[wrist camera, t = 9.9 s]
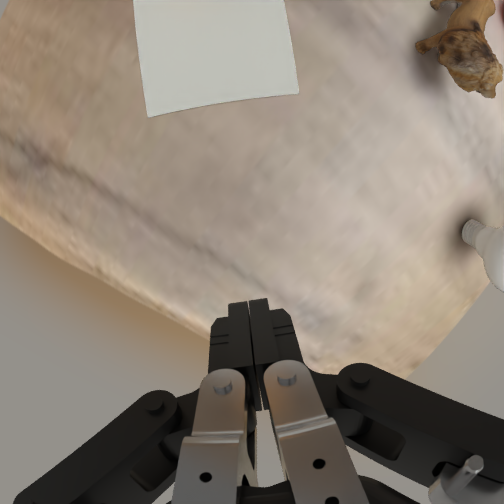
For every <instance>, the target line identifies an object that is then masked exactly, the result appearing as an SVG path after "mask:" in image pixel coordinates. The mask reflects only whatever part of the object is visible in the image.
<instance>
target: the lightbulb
mask: <svg viewBox="0 0 504 504" xmlns="http://www.w3.org/2000/svg"><path fill="white" fill-rule="evenodd" d="M462 239H463V240H464V241H465V242H466V243H467V244H469V245H470V246H472V247H473V248H475V249H476V251H477V253H478V254H479V255H480V257H481V258H482V259H483V263H484V267H485V271H486V274H487V276H488V278H489V280H490V281H491V282H492V284H493V285H494V286H495V287H496V288H497V289H499V290H500V291H503V292H504V226H502V227H499V228H495V227H491V226H488V227H487V226H485V225H483V224H481V223H479V222H478V221H476V220H473V219H471V220H469V221H467V222H466V224H465V225H464V227H463V229H462Z"/></svg>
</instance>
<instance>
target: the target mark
mask: <svg viewBox="0 0 504 504" xmlns="http://www.w3.org/2000/svg"><path fill="white" fill-rule="evenodd" d="M133 4H134V15H135V26H136V35H137V44H138V53H139V61H140V68H141V76H142V83H143V90H144V96H145V103H146V109H147V115H148V118H150V117H154V116H158V115H163V114H167V113H171V112H176V111H181V110H186V109H191V108H196V107H201V106H207V105H212V104H218V103H225V102H231V101H238V100H245V99H253V98H262V97H271V96H281V95H293V94H299V88H298V81H297V74H296V67H295V61H294V55H293V49H292V43H291V37H290V31H289V25H288V20H287V14H286V9H285V4H284V0H133Z"/></svg>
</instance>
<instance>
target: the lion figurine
mask: <svg viewBox="0 0 504 504" xmlns="http://www.w3.org/2000/svg"><path fill="white" fill-rule="evenodd" d="M452 2H454V3H459V4H458V6H457V7H458V8H457V9H456V10H455V11H454V12H453V13H452V15H451V17H450V18H449V21H448V24H447V29H446V30H444V31H442V32H440V33H438V34H436V35H434V36H432V37H430V38H428V39H425V40H422V41H419V42H417V43H416V49H417V51H418V52H420V53H422V54H424V53H425V52H426V51H429V50H430V49H431V48H432V47H437V48H438V50H439V54H438V61H439V62H440V64H442V65H444V66H445V67H446V68H447V69H448V71H449V73H450V75H451V76H452V78H453V79H454V82H455V83H456V84H457V85H458V86H459V87H461V88H462V89H463V90H465V91H467V92H471V91H476V92H479V93H481V94H482V96H484V97H487V98H494V97H495V96H496V92H495V86H496V85H497V83H499V82H500V81H502V78H503V77H502V74H503V67H502V65H501V64H499V62H498V60H497V58H496V55H495V54H493V53H492V50H491V48H490V46H489V45H488V43H487V41H486V39H485V36H484V30H485V25H486V22H487V19H488V18H489V17H490V16H492V15H493V14H494V13H495V4H494V1H493V0H432V1H431V2H430V4H431V6H432V7H433V8H434V9H435V10H440V9H441V7H442V6H443V5H445V4H448V3H452Z"/></svg>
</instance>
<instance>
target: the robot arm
mask: <svg viewBox="0 0 504 504" xmlns="http://www.w3.org/2000/svg"><path fill="white" fill-rule="evenodd" d="M249 310H250V314H249ZM210 337H211V338H210V351H209V365H208V366H209V367H208V375H207V376H206V377H204V379H203V380H202V382H201V385H200V388H199V389H197V390H196V391H194V392H192V393H189V394H186V395H183V396H180V397H177V398H175V396H174V395H173V394H172V393H170V392H168V391H164V390H155V391H151V392H149V393H146V394H145V395H143V396H142V397H141V398H139V399H138V400H137V401H136V402H135V403H133V404H132V405H131V406H130V407H129V408H127V409H126V410H125V411H124V412H123V413H121V414H120V415H119V416H118V417H117V418H115V419H114V420H113V421H112V422H110V423H109V424H108V425H107V426H105V427H104V428H103V429H102V430H101V431H100V432H98V433H97V434H96V435H94V436H93V437H92V438H91V439H89V440H88V441H87V442H86V443H84V444H83V445H82V446H81V447H79V448H78V449H77V450H76V451H74V452H73V453H72V454H71V455H69V456H68V457H67V458H65V459H64V460H63V461H61V462H60V463H59V464H58V465H56V466H55V467H54V468H52V469H51V470H50V471H48V472H47V473H46V474H44V475H43V476H42V477H40V478H39V479H38V480H37V481H35V482H34V483H32V484H31V485H30V486H28V487H27V488H26V489H24V490H23V491H22V492H21V493H19V494H18V495H17V496H16V498H15V500H14V502H13V504H152V503H153V502H154V501H155V500H156V499H157V498H158V497H159V496H160V495H161V494H162V493H163V492H164V491H165V490H167V489H168V488H169V487H170V486H171V485H172V484H173V483H174V482H175V484H174V490H173V496H172V500H171V501H169V502H168V503H166V504H420V503H418V502H416V501H414V500H412V499H410V498H409V497H407V496H405V495H403V494H401V493H399V492H397V491H396V490H394V489H392V488H390V487H388V486H387V485H385V484H383V483H381V482H379V481H377V480H375V479H372V478H369V477H365V476H360V475H358V474H357V472H356V470H355V467H354V465H353V462H352V460H351V458H350V455H349V453H348V450H347V448H346V445H347V446H349V447H350V448H352V449H354V450H356V451H358V452H359V453H361V454H363V455H365V456H367V457H368V458H370V459H372V460H374V461H376V462H377V463H379V464H381V465H383V466H385V467H387V468H389V469H391V470H393V471H395V472H397V473H399V474H401V475H403V476H405V477H407V478H409V479H411V480H413V481H415V482H418V483H419V484H422V485H424V486H426V487H428V488H429V491H428V496H429V499H430V502H431V503H432V504H504V420H503V419H501V418H498V417H495V416H493V415H490V414H487V413H485V412H482V411H479V410H477V409H474V408H472V407H469V406H467V405H464V404H461V403H459V402H457V401H454V400H452V399H449V398H447V397H444V396H442V395H439V394H437V393H435V392H432V391H430V390H427V389H425V388H423V387H420V386H418V385H416V384H413V383H411V382H408V381H406V380H404V379H402V378H400V377H397V376H395V375H393V374H390V373H388V372H386V371H384V370H381V369H379V368H377V367H375V366H373V365H370V364H366V363H355V364H351V365H348V366H346V367H345V368H343V369H342V370H341V371H340V372H339V374H338V375H332V374H321V373H317V372H314V371H312V370H311V369H309V368H308V367H307V366H306V365H305V363H304V361H303V358H302V355H301V351H300V348H299V344H298V341H297V337H296V334H295V330H294V327H293V323H292V320H291V316H290V315H289V314H288V313H287V312H286V311H285V310H284V309H283V308H282V309H276V310H269V305H268V300H267V298H263V299H257V300H250V301H249V308H248V303H247V301H244V302H237V303H230V304H229V305H228V317H222V318H217V319H216V320H215V322H214V323H213V325H212V326H211V335H210ZM260 391H261V396H260ZM261 397H262V402H263V407H264V410H267V409H269V412H270V418H271V423H272V428H273V433H274V437H275V441H276V445H277V449H278V454H279V458H280V461H281V466H282V469H283V474H284V479H285V481H284V482H281V483H278V484H276V485H273V486H270V487H265V488H264V487H258V480H257V428H256V425H257V420H256V411H261V410H262V406H261V405H262V404H261Z"/></svg>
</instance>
